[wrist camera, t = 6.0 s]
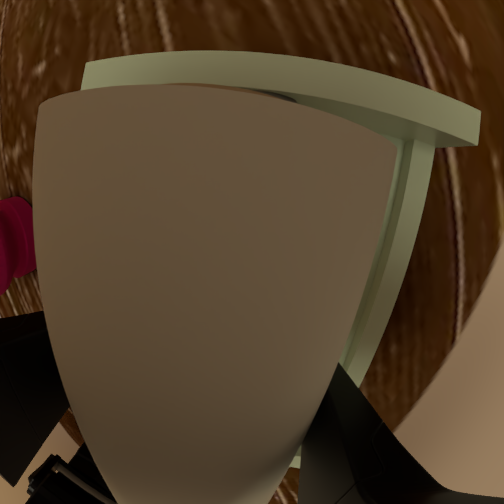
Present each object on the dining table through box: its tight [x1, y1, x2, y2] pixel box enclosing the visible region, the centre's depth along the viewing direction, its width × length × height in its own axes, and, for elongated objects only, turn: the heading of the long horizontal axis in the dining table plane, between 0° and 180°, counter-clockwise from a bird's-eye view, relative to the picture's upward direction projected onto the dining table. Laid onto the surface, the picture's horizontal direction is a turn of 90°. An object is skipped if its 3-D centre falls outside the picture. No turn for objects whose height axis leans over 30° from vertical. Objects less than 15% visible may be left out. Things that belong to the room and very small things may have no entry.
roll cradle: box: [81, 51, 481, 468], centre depth 13 cm, size 18×14×6 cm
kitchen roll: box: [32, 83, 397, 504], centre depth 7 cm, size 13×6×6 cm, turn 171°
